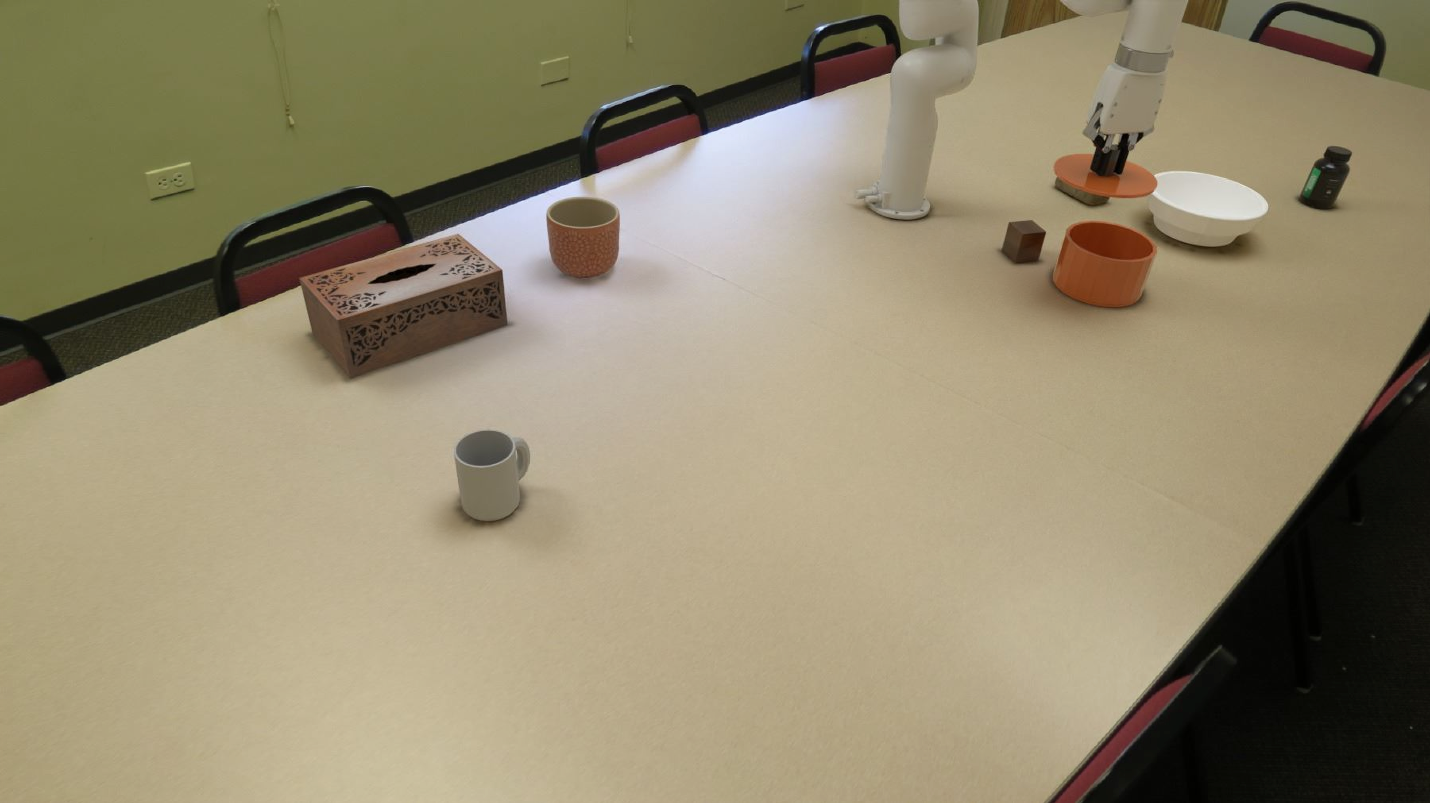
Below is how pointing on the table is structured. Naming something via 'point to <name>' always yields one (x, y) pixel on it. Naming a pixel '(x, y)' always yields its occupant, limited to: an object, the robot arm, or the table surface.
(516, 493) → the cup
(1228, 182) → the bowl
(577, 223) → the planter
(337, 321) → the tissue box cover
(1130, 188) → the pan lid
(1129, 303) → the pan
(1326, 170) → the supplement bottle
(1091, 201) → the stone block
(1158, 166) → the table surface
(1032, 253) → the metal block
